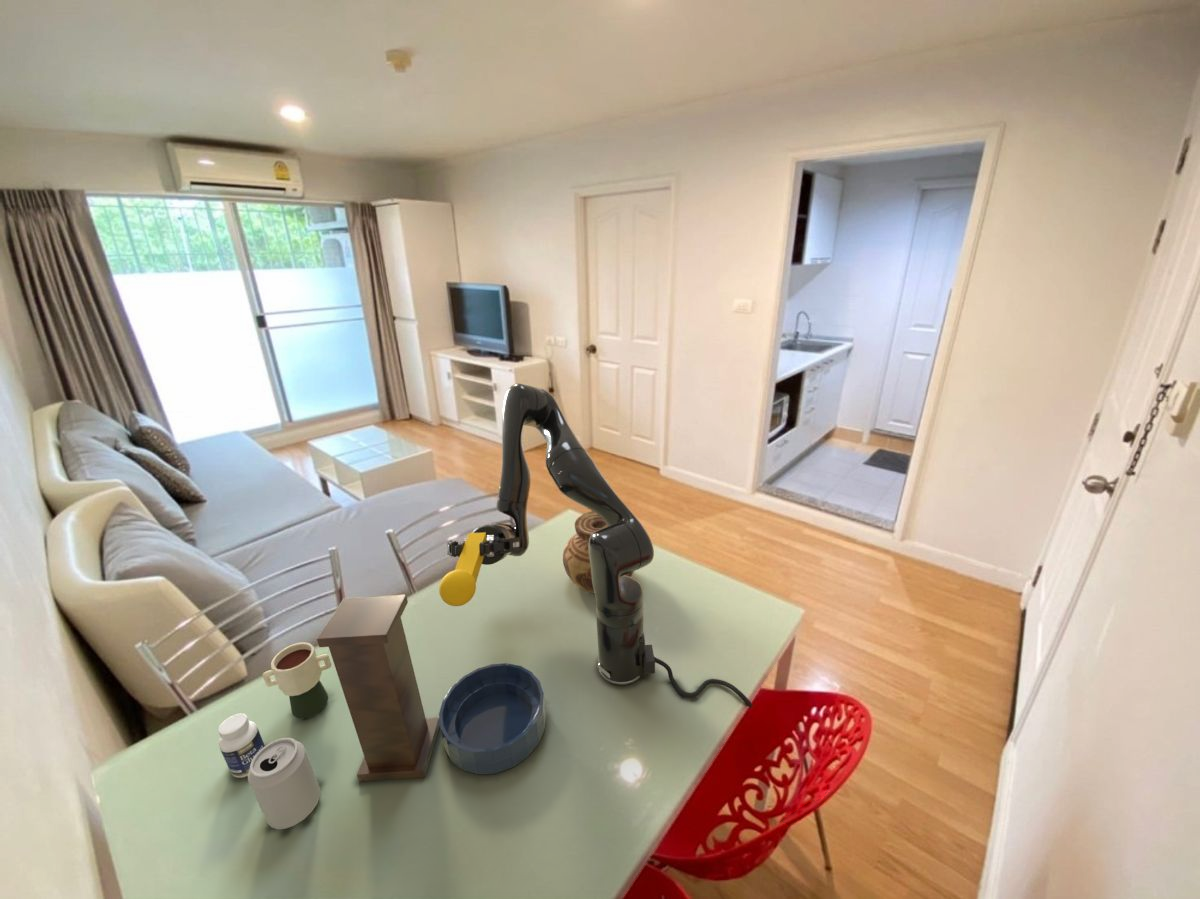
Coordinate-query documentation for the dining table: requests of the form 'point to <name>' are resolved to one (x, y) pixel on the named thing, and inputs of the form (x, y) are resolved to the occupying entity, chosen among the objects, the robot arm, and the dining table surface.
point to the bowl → (492, 718)
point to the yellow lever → (463, 573)
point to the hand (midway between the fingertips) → (470, 549)
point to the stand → (380, 687)
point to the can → (284, 783)
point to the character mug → (300, 678)
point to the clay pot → (582, 550)
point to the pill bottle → (239, 743)
